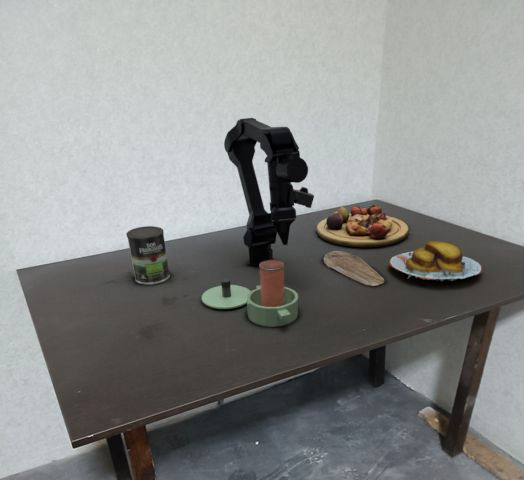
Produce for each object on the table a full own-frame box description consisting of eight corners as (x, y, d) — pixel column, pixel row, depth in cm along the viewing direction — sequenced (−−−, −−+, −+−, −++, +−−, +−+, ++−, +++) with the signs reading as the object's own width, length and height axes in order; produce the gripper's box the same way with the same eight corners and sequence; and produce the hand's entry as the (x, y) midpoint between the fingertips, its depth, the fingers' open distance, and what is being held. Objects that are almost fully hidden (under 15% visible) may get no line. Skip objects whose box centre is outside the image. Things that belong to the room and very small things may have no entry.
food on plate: (372, 274, 141) (374, 252, 137) (414, 249, 156) (416, 229, 152) (457, 298, 126) (462, 274, 122) (494, 268, 141) (499, 247, 137)
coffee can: (174, 280, 142) (168, 233, 135) (140, 287, 138) (131, 240, 131) (164, 268, 150) (157, 223, 142) (131, 275, 146) (122, 229, 138)
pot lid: (208, 315, 123) (206, 295, 120) (196, 293, 134) (194, 274, 131) (259, 305, 127) (258, 285, 124) (243, 285, 137) (242, 266, 134)
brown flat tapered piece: (396, 279, 137) (397, 275, 136) (369, 290, 133) (369, 287, 133) (339, 250, 156) (339, 247, 155) (314, 260, 152) (313, 256, 151)
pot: (261, 336, 113) (260, 317, 111) (238, 303, 128) (237, 286, 125) (310, 325, 117) (310, 307, 114) (283, 295, 131) (282, 278, 128)
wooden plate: (418, 247, 157) (422, 222, 152) (320, 250, 158) (321, 225, 153) (396, 217, 184) (399, 195, 179) (313, 220, 185) (313, 198, 180)
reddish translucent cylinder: (256, 312, 123) (254, 264, 116) (275, 305, 125) (274, 257, 118) (270, 320, 119) (269, 271, 112) (289, 313, 121) (289, 265, 114)
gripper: (314, 181, 116) (318, 245, 122) (307, 174, 133) (310, 231, 139) (268, 186, 116) (274, 250, 123) (267, 178, 133) (272, 235, 140)
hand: (284, 241), depth 131 cm, fingers open, 9 cm apart
